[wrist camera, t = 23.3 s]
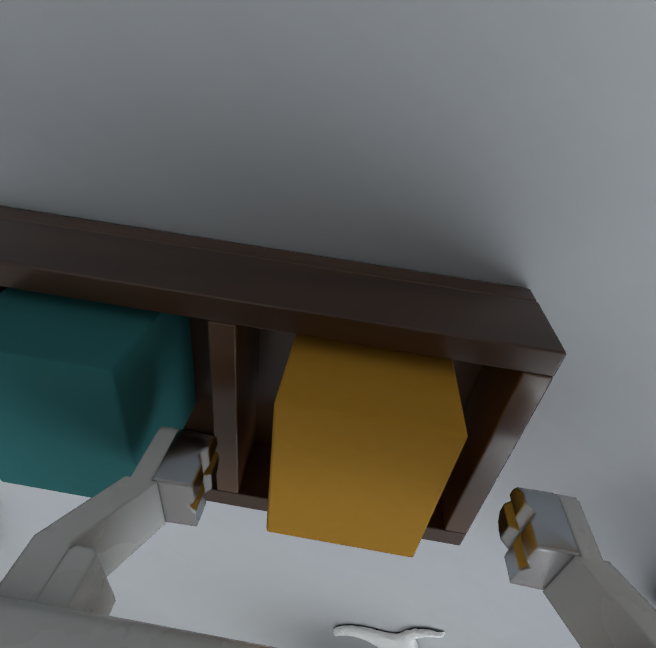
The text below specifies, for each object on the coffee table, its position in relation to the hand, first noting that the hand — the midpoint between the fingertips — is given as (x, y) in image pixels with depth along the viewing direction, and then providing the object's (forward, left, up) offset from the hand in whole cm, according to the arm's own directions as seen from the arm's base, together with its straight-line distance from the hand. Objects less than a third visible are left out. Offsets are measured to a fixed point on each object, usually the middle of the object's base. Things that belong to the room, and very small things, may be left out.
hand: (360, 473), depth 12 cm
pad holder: (+1, -4, -5) cm, 6 cm away
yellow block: (0, 0, -4) cm, 4 cm away
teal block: (0, -9, -4) cm, 9 cm away
